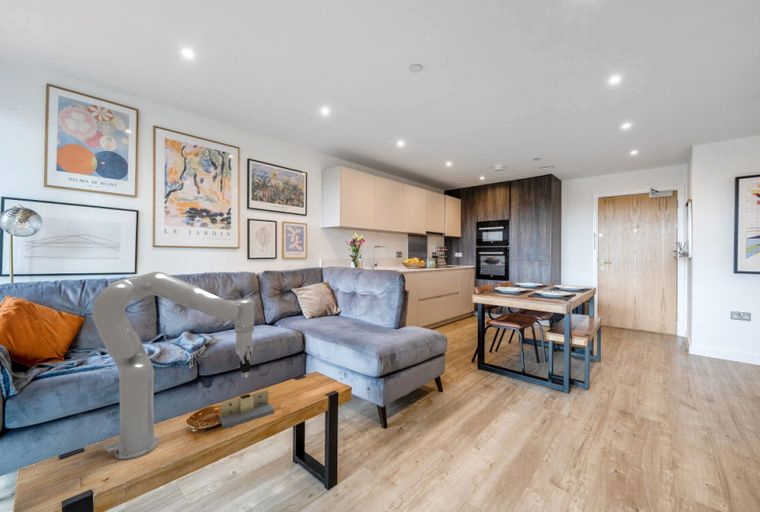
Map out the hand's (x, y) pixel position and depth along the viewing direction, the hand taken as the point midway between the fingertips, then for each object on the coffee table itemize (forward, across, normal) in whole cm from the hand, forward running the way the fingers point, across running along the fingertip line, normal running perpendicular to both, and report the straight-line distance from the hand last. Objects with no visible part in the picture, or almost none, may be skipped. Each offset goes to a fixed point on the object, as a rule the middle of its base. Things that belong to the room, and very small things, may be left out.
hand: (245, 370), depth 137 cm
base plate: (+19, 0, 0) cm, 19 cm away
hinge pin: (+3, 0, 0) cm, 3 cm away
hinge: (+17, 0, 0) cm, 17 cm away
